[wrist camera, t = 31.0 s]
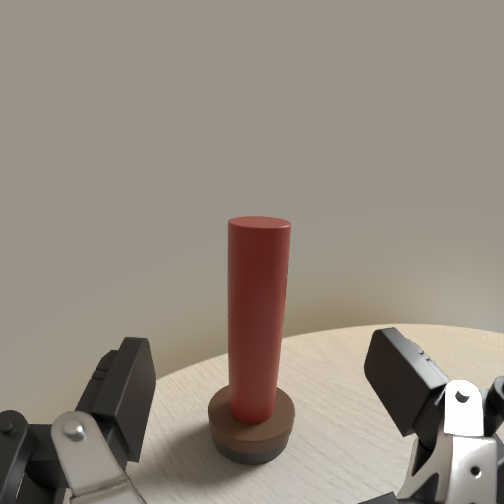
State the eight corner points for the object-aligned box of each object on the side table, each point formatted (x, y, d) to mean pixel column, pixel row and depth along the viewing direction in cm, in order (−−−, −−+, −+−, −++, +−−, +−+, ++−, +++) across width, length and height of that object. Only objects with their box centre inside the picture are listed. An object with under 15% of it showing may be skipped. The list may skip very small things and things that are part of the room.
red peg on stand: (234, 477, 12) (230, 242, 8) (199, 422, 16) (180, 216, 12) (305, 444, 15) (348, 229, 11) (262, 399, 19) (275, 210, 15)
